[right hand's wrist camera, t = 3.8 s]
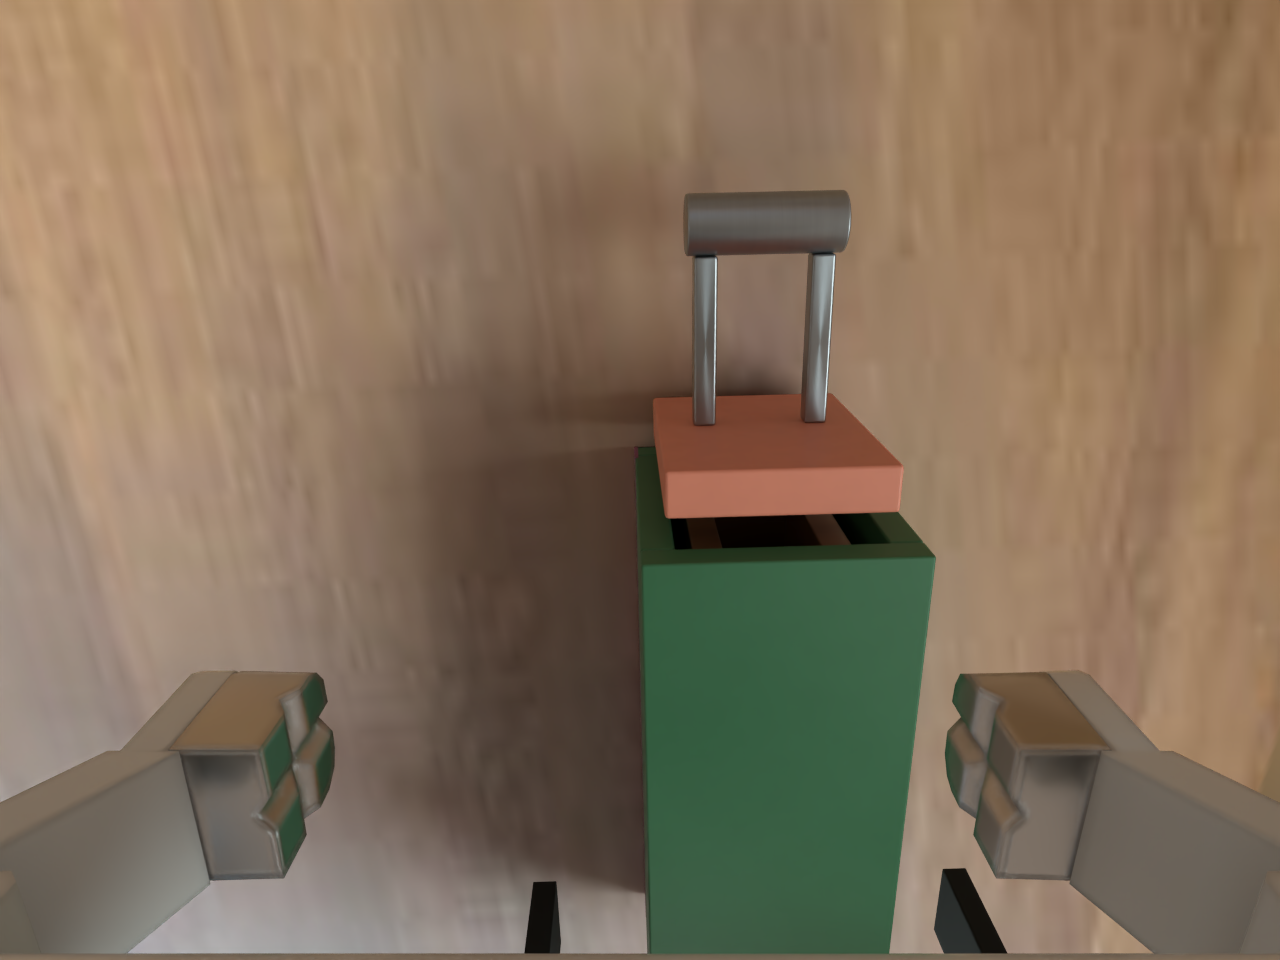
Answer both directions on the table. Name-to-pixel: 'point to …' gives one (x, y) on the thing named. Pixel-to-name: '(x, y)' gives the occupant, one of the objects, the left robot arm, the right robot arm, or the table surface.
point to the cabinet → (776, 732)
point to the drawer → (767, 397)
